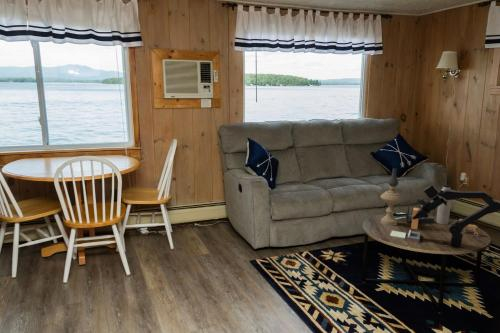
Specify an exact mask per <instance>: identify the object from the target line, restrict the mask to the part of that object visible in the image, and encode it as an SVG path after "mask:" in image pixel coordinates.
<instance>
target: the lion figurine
mask: <svg viewBox="0 0 500 333" xmlns="http://www.w3.org/2000/svg"><path fill="white" fill-rule="evenodd" d="M462 219H463V218H459V219H458V221H460V220H462ZM467 230H470V231H471V230H472V231H473V233H472V234H473V235H475V237H478V236H481V237H482V236H483V235H482V234H481V233H480V228H479V226H477V225H475V224H472V223H471V224H469V225H467V226H466V227H465V228H464V229H463V230H462V233H463V234H466V232H467Z"/></svg>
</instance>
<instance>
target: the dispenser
mask: <svg viewBox="0 0 500 333" xmlns="http://www.w3.org/2000/svg"><path fill="white" fill-rule="evenodd" d="M420 239H421V232H418V231H413V230H412V229H409V231H408V233H407V237H406V240H407V241H410V242H416V243H420Z"/></svg>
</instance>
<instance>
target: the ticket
mask: <svg viewBox="0 0 500 333" xmlns="http://www.w3.org/2000/svg"><path fill="white" fill-rule="evenodd" d="M419 209H420V208H419V207H413V209H412V215H413V216H412V222H411V226H410V230H412V229H413V230H418V227H419V226H418V225H419V223H418V219H413V217H414V216H415V215H416V214H417V213H418V210H419Z"/></svg>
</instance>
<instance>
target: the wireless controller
mask: <svg viewBox="0 0 500 333" xmlns="http://www.w3.org/2000/svg"><path fill="white" fill-rule="evenodd" d="M410 202H411V200H408V206H407V212H406V214H405V219H406V224H407V223H412V216H413V213H412V214H410ZM434 223H435V218H434V217H432V216H431V215H430V214H429V215H428V218H426V219H425V218H419V219H418V224H434Z"/></svg>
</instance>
